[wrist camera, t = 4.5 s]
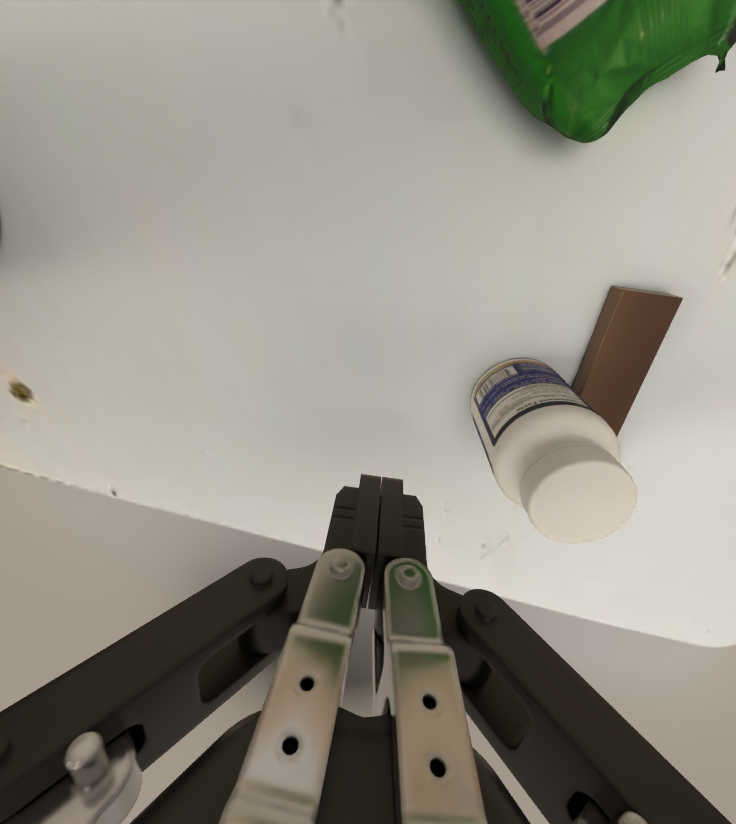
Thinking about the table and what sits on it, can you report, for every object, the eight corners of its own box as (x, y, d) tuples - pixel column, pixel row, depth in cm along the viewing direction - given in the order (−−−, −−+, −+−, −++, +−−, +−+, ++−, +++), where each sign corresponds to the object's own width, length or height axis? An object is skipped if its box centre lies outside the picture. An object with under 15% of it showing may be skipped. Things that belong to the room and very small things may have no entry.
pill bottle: (555, 436, 25) (640, 558, 16) (467, 438, 25) (503, 557, 17) (568, 353, 22) (677, 444, 14) (471, 357, 23) (516, 448, 14)
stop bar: (538, 473, 26) (544, 484, 25) (611, 285, 21) (622, 289, 20) (583, 479, 26) (591, 490, 25) (668, 293, 21) (683, 298, 20)
